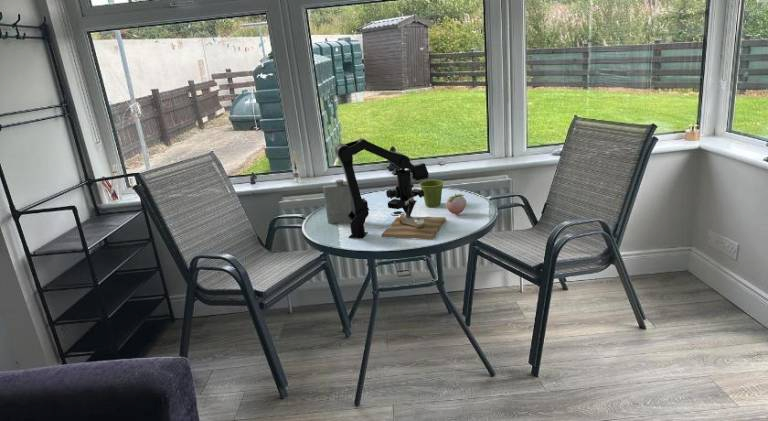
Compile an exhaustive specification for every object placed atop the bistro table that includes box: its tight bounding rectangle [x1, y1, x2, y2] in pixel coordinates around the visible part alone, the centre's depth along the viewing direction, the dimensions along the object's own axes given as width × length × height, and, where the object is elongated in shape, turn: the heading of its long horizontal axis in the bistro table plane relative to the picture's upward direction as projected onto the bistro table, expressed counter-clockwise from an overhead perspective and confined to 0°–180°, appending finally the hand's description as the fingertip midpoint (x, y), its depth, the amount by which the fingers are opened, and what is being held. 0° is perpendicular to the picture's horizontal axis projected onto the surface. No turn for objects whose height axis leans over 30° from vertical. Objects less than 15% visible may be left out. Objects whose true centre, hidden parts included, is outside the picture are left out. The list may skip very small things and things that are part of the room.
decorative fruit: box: [445, 193, 467, 216], centre depth 227 cm, size 9×8×10 cm
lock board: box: [381, 216, 447, 240], centre depth 217 cm, size 22×22×2 cm
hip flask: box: [322, 178, 352, 225], centre depth 233 cm, size 16×4×20 cm, turn 80°
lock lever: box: [397, 213, 424, 228], centre depth 217 cm, size 14×4×3 cm, turn 42°
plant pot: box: [418, 179, 445, 208], centre depth 244 cm, size 12×12×11 cm
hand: (408, 217), depth 221 cm, fingers closed
